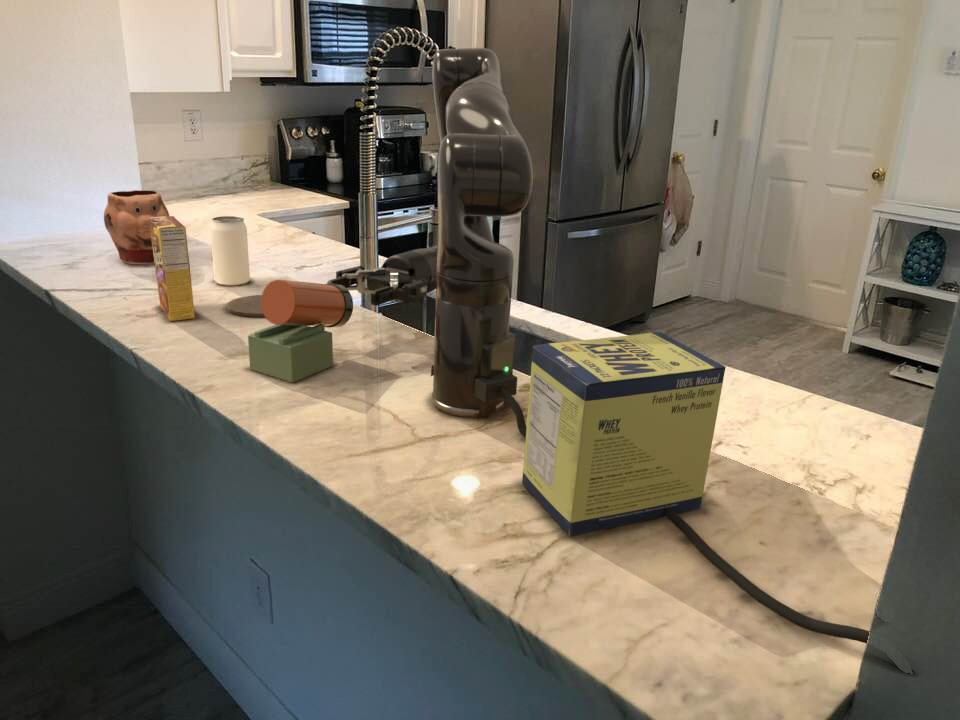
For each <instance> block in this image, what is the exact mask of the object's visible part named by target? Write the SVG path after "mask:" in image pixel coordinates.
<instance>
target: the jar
mask: <svg viewBox="0 0 960 720" xmlns="http://www.w3.org/2000/svg"><path fill="white" fill-rule="evenodd" d="M261 295H262V298H261V307H262V311H263V314H264V316H265V317H264V318H265V319H266V320H267V321H268V322H269V323H271V324H272V325H304V326H310V327H313V326H316V325H319V324H323V325H325V328H327V329H328V328H330V329H331V328H332V329H338V328H341V327H343V326H345V325H346V324H347V323H348V322H349V321H350V319H351V317H352V315H353V310H354V300H353V296H352V294H351V292H350V290H349V291H348V289H347V288H345V287H344V286H342V285H340V284H332V283H327V282H326V283H318V282H307V281H299V280H298V281H297V280H290V279H289V280H288V279H273V280H272V281H269V283H267V284H266V286H265V288H264V289H263V291H262V294H261Z"/></svg>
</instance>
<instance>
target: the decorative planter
mask: <svg viewBox="0 0 960 720" xmlns="http://www.w3.org/2000/svg"><path fill="white" fill-rule="evenodd" d="M164 216H170V213H169V210H168V208H167V207H166V204H165V203H164V200H163V199H162V196H161V193H160V192H158V191H155V190H149V189H141V190H140V189H138V190H137V189H135V190H119V191H113V192H109V193H108V194H107V204H106V206H105V208H104V213H103V222H104V226H105V229H106V231H107V232H108V234H109V237H110V238H111V241H112V242H113V244H114V246H115V248H116V250H117V252H118V256H119V259H120V261H122V262H124V263H126V264H131V265H148V264H155V262H154V255H153V247H152V239H151V232H150V224H149V218H151V217H164Z"/></svg>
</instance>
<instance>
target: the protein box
mask: <svg viewBox="0 0 960 720" xmlns="http://www.w3.org/2000/svg"><path fill="white" fill-rule="evenodd" d="M531 356H532V357H531V369H530V379H529V393H528V403H527V404H528V405H527V416H526V427H527V430H526V438H525V441H524V443H525V445H524V455H523V467H522V479H521V484H522V486H523V487H524V488H525V489H526V490H527V491H528V492H529V493H530V495H531V496H532V497H533V498H534V499H535V500H536V501H537V502H538V504H539V505H540V506H541V507H542V508H543V509H544V510H545V511H546V512H547V514H548V515H549V516H551V518H552V519H553V520H554V522H556V523H557V524H558V525H559V527H561V529H562V530H563V531H564V532H565V533H566V534H567V536H568V537H572V536H577V535H582V534H587V533H591V532H596V531H603V530H606V529H611V528H616V527H621V526H624V525H629V524H634V523H640V522H644V521H650V520H655V519H660V518H664V517H666V516H665V515H664V510H665V509H666V508H668V507H671V508H672V509H673V510H674V511H675V512H676V513H677V514H678V515H679V514H683V513H688V512H692V511H698V510H700V509H701V508H702V501H703V496H704V492H705V491H704V490H705V484H706V479H707V473H708V467H709V461H710V456H711V451H712V445H713V439H714V433H715V430H716V429H715V428H716V424H717V417H718V413H719V406H720V400H721V395H722V390H723V384H724V377H725V373H726V372H725V371H726V366H725V365H723V364H722V363H719V362H717V361H716V360H715V359H712V358H710V357H708V356H706V355H705V354H702V353H701V352H699V351H697V350H695V349H693V348H691V347H689V346H688V345H685V344H684V343H682V342H680V341H678V340H676V339H674V338H672V337H671V336H668V335H667V334H665V333H663V332H662V331H655V332H654V331H653V332H646V333H639V334H630V335H621V336H612V337H601V338H594V339H593V338H592V339H584V340H582V339H581V340H571V341H562V342H551V343H543V344H537V345H533V346H532V355H531Z"/></svg>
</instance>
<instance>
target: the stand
mask: <svg viewBox="0 0 960 720" xmlns="http://www.w3.org/2000/svg"><path fill="white" fill-rule="evenodd" d="M325 329H326V327H325V325H323V324H319V325H316V326H304V325H275V324H273V325H270V326H268V327H265V328H261V329H258V330H257V331H256V330H255V331H254V333H249V334H248V335H247V341H248V358H249V369H250V370H251V371H254V372H258V373H261V374H264V375H267V376H270V377H274V378H276V379H279V380H282V381H285V382H289V383H296V382H298V381H300V380H303V379H305V378H307V377H310V376H312V375H314V374H317V373H319V372H322V371H324V370H326V369H329V368H331V367H333V366H334V354H333V350H334V349H333V348H334V347H333V346H334V345H333V332H331V331H328V330H325Z"/></svg>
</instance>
